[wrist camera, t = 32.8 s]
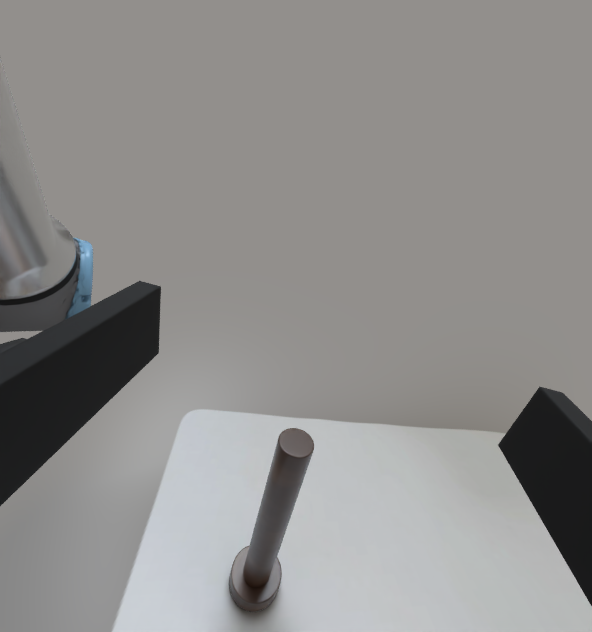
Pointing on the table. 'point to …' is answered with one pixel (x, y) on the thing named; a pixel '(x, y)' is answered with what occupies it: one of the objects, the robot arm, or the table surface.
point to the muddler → (271, 524)
